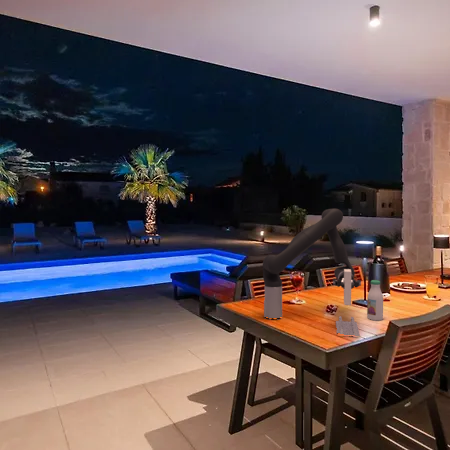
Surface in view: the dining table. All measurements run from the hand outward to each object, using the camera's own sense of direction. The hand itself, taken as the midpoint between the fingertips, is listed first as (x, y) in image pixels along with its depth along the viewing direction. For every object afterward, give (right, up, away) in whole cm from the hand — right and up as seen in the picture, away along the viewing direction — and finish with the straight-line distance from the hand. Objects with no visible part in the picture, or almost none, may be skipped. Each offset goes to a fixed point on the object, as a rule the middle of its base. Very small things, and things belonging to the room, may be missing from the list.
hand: (347, 286), depth 188 cm
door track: (+1, -21, +4) cm, 22 cm away
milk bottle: (+21, -20, +21) cm, 36 cm away
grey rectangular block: (+1, -9, +3) cm, 9 cm away
